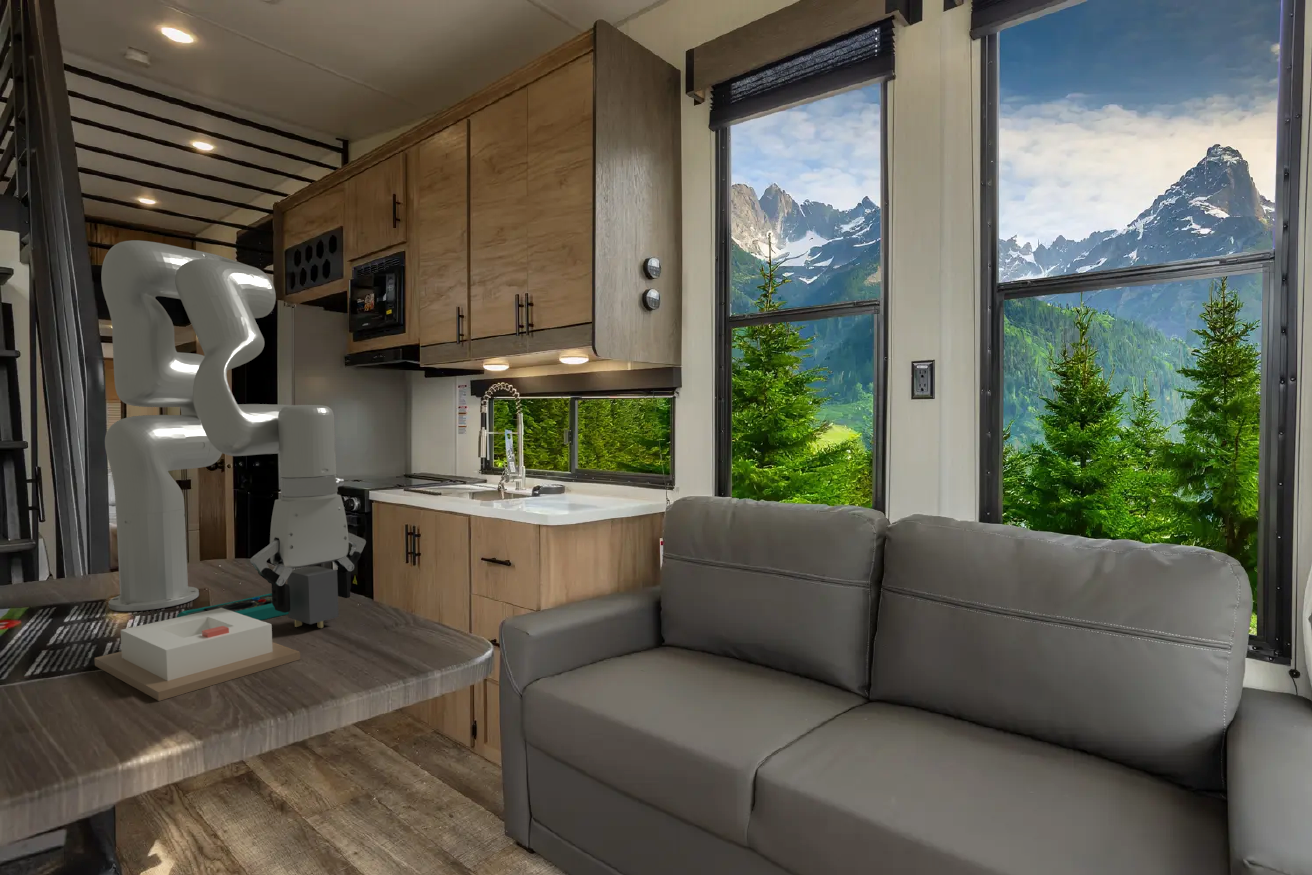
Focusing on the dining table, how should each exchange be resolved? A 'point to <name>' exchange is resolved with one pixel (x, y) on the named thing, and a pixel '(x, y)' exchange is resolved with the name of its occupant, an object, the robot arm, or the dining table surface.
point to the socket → (194, 652)
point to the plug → (313, 595)
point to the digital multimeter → (245, 608)
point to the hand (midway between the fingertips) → (313, 603)
